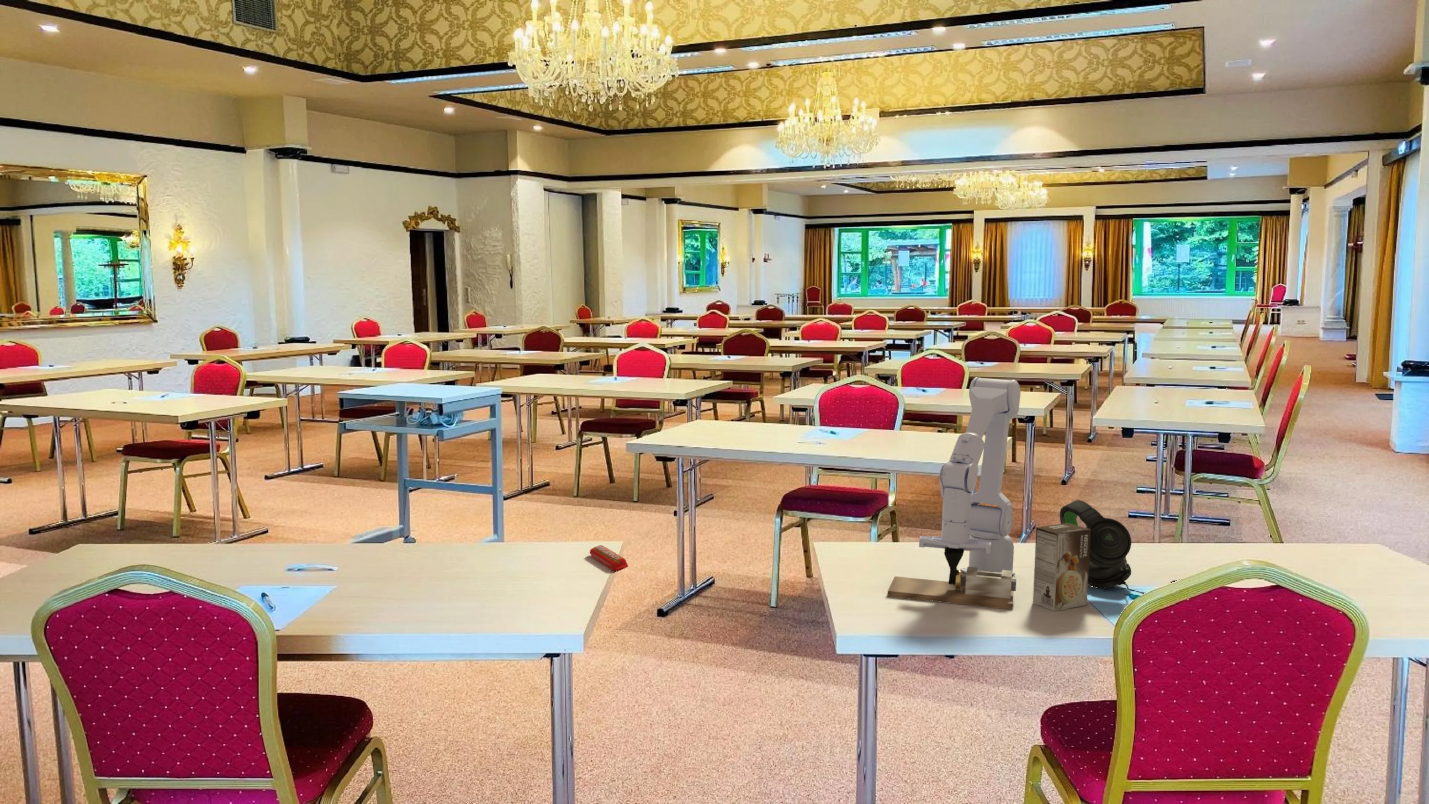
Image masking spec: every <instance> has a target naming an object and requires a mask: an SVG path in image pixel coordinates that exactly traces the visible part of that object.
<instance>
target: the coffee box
mask: <svg viewBox="0 0 1429 804" xmlns="http://www.w3.org/2000/svg"><path fill="white" fill-rule="evenodd" d="M1035 529H1036V530H1035V544H1034V545H1035V550H1034V567H1033V568H1034V570H1033V571H1034V573H1033V592H1032V594H1033V595H1032V603H1033V604H1036V605H1038V606H1040V607H1044V608H1046V609H1048V610H1052V611H1053V612H1058V611H1063V610H1067V609H1072V608H1078V607H1083V606H1087V605H1088V588H1089V585H1088V573H1089V553H1090V532H1091V529H1088V528H1086V527H1084V526H1080V525H1078V526H1077V525H1073V524H1069V523H1065V524H1061V523H1059V524H1058V523H1057V524H1052V525H1044V526H1037V527H1035Z"/></svg>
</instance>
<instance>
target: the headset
mask: <svg viewBox="0 0 1429 804" xmlns="http://www.w3.org/2000/svg"><path fill="white" fill-rule="evenodd" d="M1078 518H1079V520H1081V522H1082V523H1084V524H1085V526H1086V527H1085V528H1088V529H1091V532H1090V553H1089V573H1088V584H1089V585H1088V586H1090V587H1091V586H1093V587H1092V588H1094V587H1097V588H1096V589H1108V588H1112V587H1115V586H1122V585H1124V586H1125V587H1126V590H1128V591H1130V592H1136V593H1140V594H1142V595H1144V593H1145V592H1144V591H1143V592H1142V591H1139V590H1135V589H1132V588H1129V586H1128V584H1127V582H1126V580H1128V579H1129V578H1130V577H1131V575H1132V568H1131V565H1130V564H1129V563H1128V560H1127V555H1128V554H1129V553H1130V551H1131V549H1132V537H1131V535H1130V533H1129V530H1128V529H1127V528H1126V526H1125V525H1124V524H1123V523H1121V522H1120V521H1118V520H1116V519H1113V518H1110V517H1104V516H1103V515H1102V514H1101V513H1100V512H1099V511H1098V509H1096V508H1094V507H1092V506H1091V505H1090V504H1089V503H1087V502H1085V501H1083V500H1081V499H1077V500H1073V501H1072V502H1070V503H1067V504H1066V505H1063V506H1062V507H1061V508H1060V510H1059V522H1060V524H1065V523H1069V524H1073V525H1077V526H1079V524H1078V520H1077V519H1078ZM1178 580H1180V579H1178ZM1175 581H1177V579H1176V580H1171V581H1170V582H1169V583H1172V582H1175Z"/></svg>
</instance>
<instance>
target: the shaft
mask: <svg viewBox="0 0 1429 804" xmlns="http://www.w3.org/2000/svg"><path fill="white" fill-rule="evenodd" d="M961 586H966V573H963V572H962V570H960V569H957V572H956V589H961ZM1011 591H1014V592H1016V591H1017V578H1012V581H1011Z"/></svg>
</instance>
